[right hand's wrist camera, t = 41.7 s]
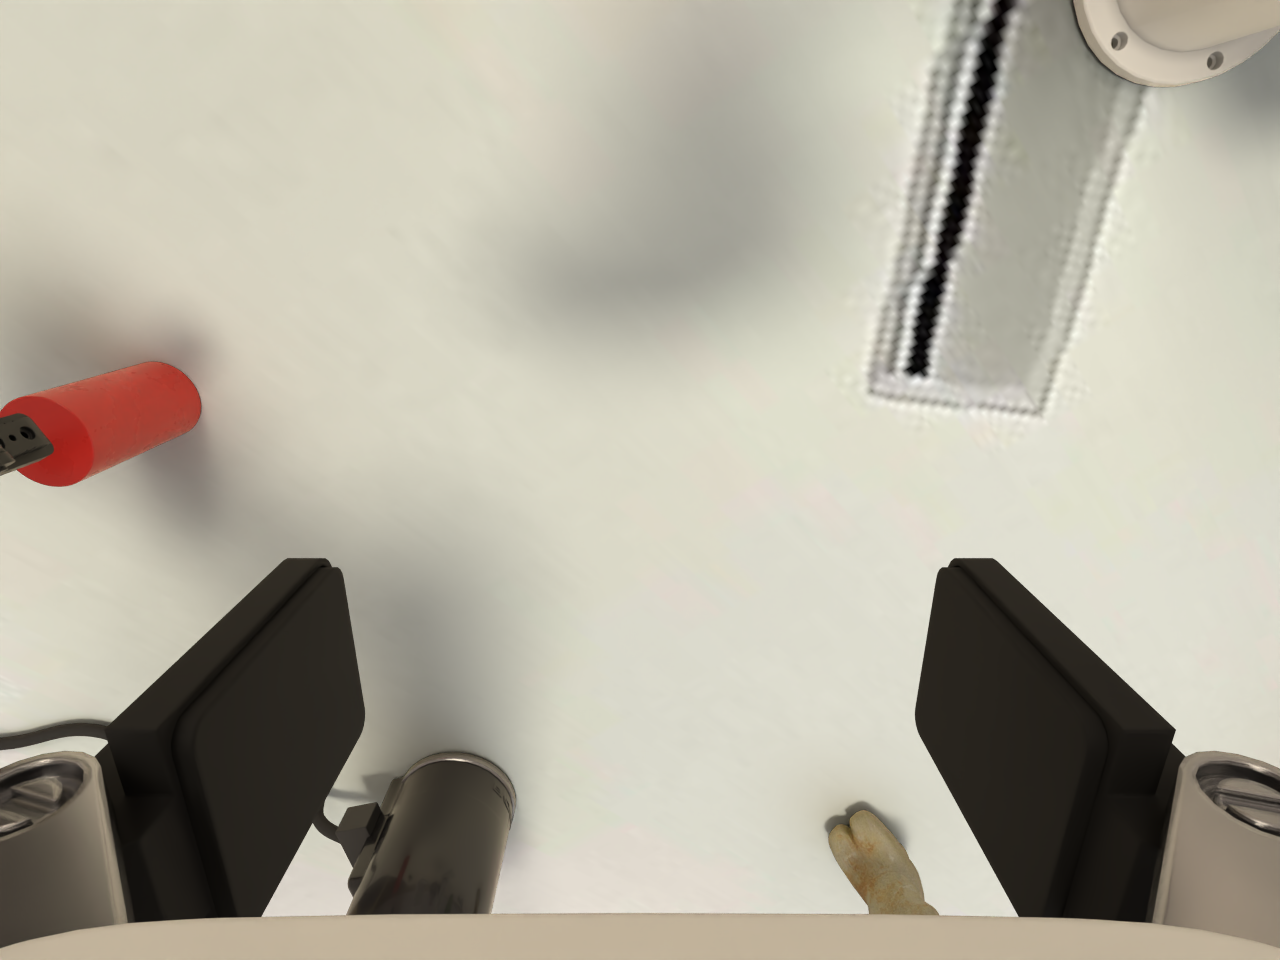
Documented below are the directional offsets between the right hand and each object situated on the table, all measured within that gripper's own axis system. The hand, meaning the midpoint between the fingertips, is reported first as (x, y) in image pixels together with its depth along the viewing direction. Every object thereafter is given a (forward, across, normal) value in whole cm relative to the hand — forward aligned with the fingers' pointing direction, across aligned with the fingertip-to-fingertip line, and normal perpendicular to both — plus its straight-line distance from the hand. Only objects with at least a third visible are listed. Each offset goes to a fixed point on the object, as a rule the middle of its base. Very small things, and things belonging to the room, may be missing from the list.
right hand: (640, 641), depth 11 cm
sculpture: (+35, +19, -42) cm, 58 cm away
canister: (+35, -31, -5) cm, 47 cm away
